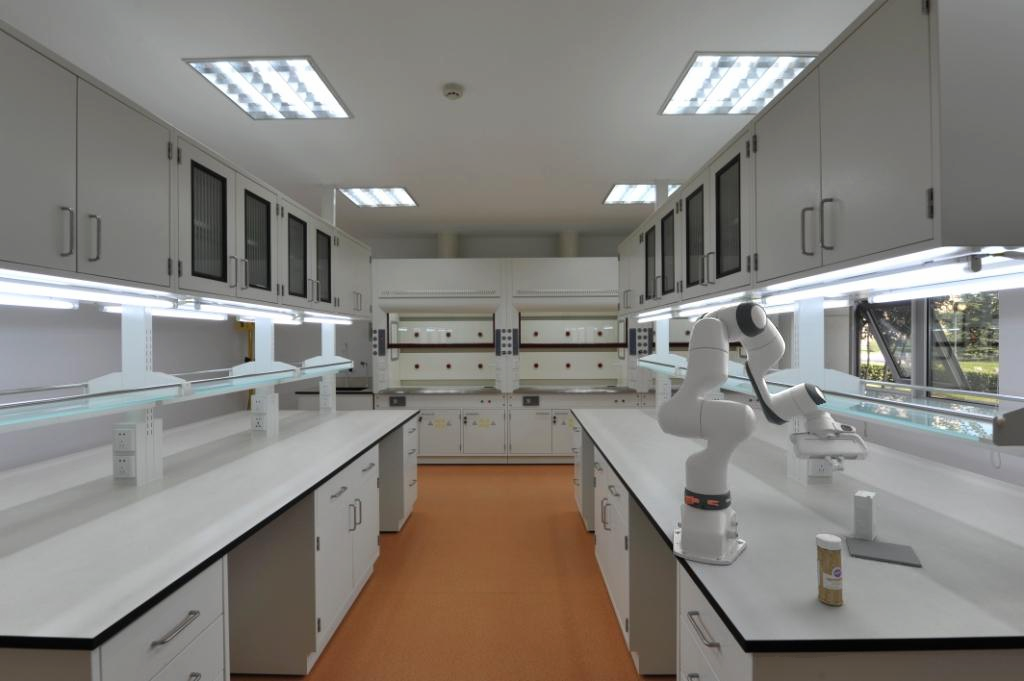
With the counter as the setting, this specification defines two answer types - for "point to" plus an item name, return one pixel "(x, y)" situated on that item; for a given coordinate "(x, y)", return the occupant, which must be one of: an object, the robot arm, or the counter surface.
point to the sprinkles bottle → (829, 569)
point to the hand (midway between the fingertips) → (838, 470)
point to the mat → (882, 551)
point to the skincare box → (865, 515)
